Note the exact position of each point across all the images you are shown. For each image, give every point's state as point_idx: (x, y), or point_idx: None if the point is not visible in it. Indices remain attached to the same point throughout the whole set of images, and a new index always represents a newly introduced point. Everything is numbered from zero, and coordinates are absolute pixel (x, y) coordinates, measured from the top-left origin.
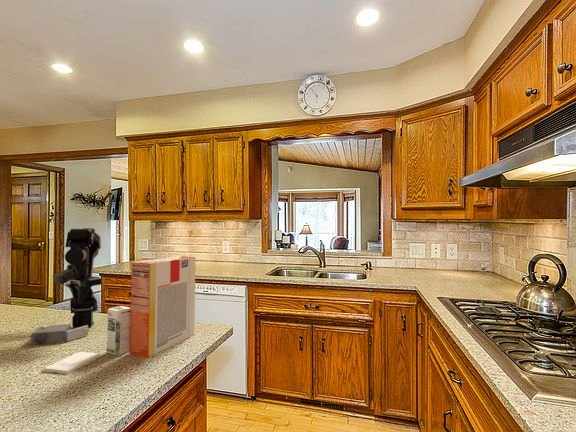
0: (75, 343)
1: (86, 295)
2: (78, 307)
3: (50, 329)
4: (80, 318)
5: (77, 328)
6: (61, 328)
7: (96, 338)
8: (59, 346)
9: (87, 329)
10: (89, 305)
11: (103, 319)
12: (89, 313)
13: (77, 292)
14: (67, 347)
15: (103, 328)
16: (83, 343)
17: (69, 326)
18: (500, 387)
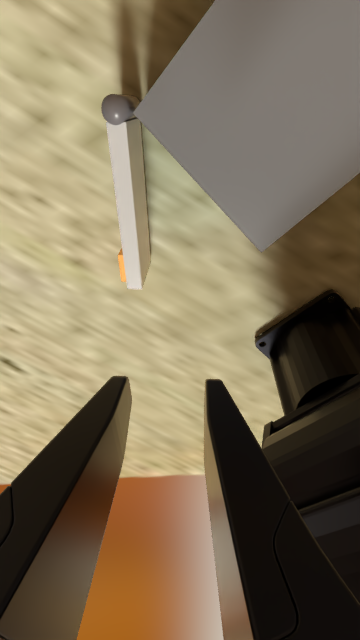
0: (52, 131)
1: (324, 539)
2: (339, 401)
3: (294, 57)
4: (316, 352)
5: (120, 215)
6: (222, 139)
7: (51, 251)
8: (74, 18)
9: (120, 268)
10: (266, 444)
11: None
12: (290, 403)
13: (221, 561)
14: (4, 41)
15: (183, 356)
16: (14, 159)
17: (233, 220)
18: None
